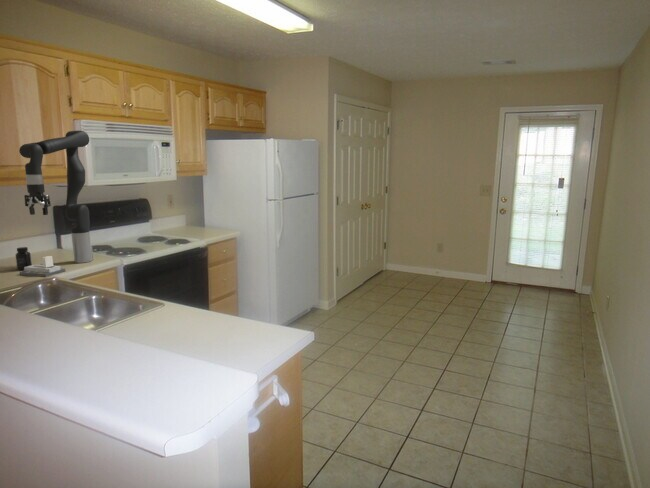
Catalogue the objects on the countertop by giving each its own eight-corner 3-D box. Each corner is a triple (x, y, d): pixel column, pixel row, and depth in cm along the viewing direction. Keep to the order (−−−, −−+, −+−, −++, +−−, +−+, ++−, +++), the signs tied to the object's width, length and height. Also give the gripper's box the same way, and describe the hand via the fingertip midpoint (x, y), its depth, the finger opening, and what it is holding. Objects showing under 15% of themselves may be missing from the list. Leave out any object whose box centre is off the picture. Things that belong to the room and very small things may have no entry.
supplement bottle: (35, 268, 246) (32, 246, 244) (24, 270, 239) (21, 248, 237) (25, 267, 248) (22, 246, 246) (14, 270, 241) (11, 248, 239)
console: (40, 269, 242) (39, 263, 241) (65, 271, 237) (64, 264, 237) (19, 274, 231) (18, 268, 230) (45, 276, 226) (45, 270, 225)
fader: (49, 269, 235) (47, 255, 234) (55, 269, 234) (53, 255, 233) (41, 271, 231) (40, 257, 230) (48, 271, 230) (46, 257, 229)
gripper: (52, 183, 233) (55, 214, 235) (30, 183, 236) (34, 213, 239) (39, 183, 225) (43, 215, 228) (17, 183, 229) (21, 215, 232)
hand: (39, 214), depth 234 cm, fingers open, 8 cm apart
